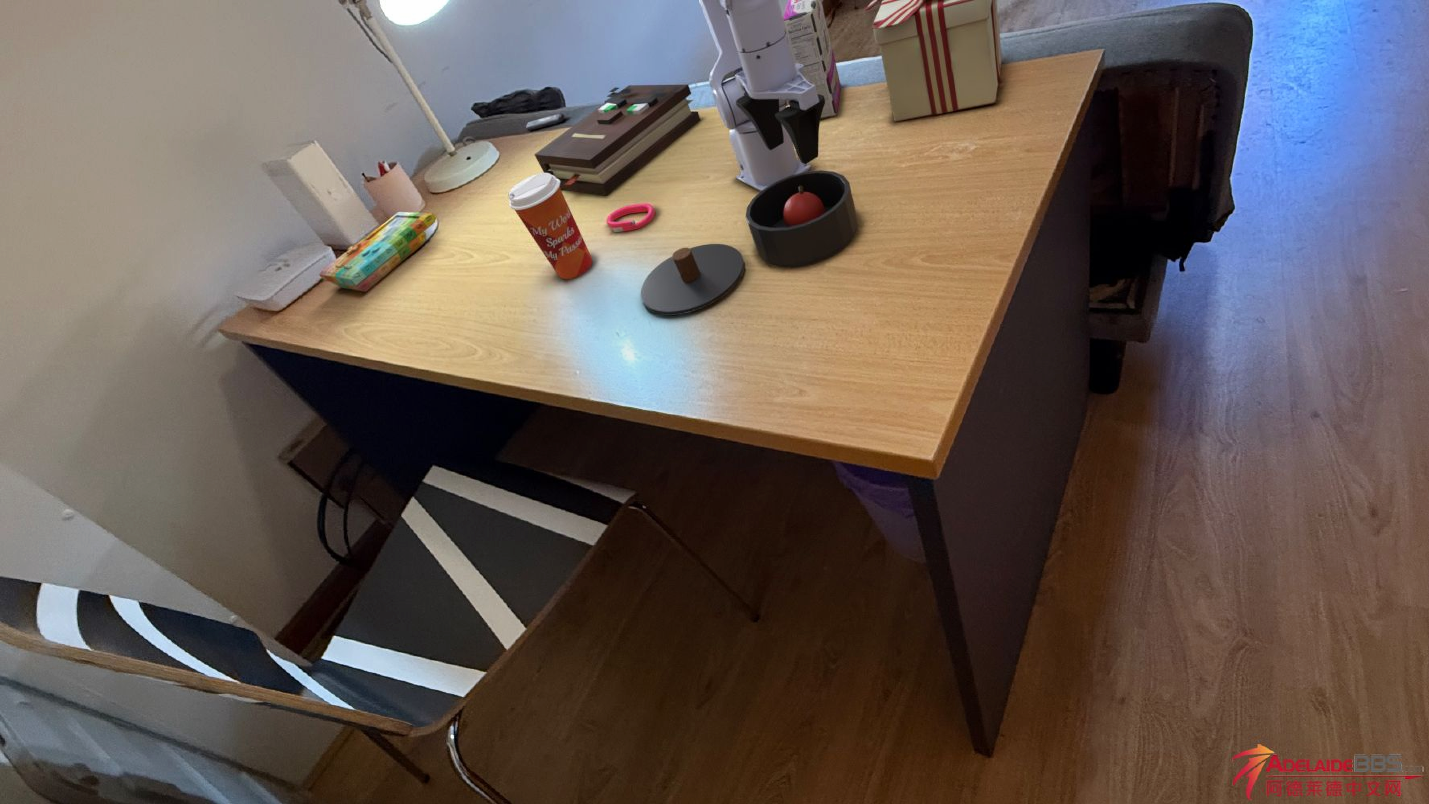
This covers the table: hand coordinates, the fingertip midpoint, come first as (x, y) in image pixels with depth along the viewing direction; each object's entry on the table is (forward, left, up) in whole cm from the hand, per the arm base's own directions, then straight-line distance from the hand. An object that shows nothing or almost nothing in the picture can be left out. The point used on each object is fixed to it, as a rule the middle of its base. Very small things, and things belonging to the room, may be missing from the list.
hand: (792, 152), depth 88 cm
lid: (-2, -18, -9) cm, 20 cm away
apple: (+2, -2, -7) cm, 7 cm away
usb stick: (-90, -10, -10) cm, 92 cm away
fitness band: (-27, -16, -10) cm, 33 cm away
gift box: (-10, +32, -10) cm, 35 cm away
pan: (+2, -2, -10) cm, 11 cm away
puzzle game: (-66, -52, -10) cm, 85 cm away
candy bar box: (-28, +22, -10) cm, 37 cm away
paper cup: (-24, -28, -10) cm, 38 cm away
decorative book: (-52, -6, -10) cm, 54 cm away
